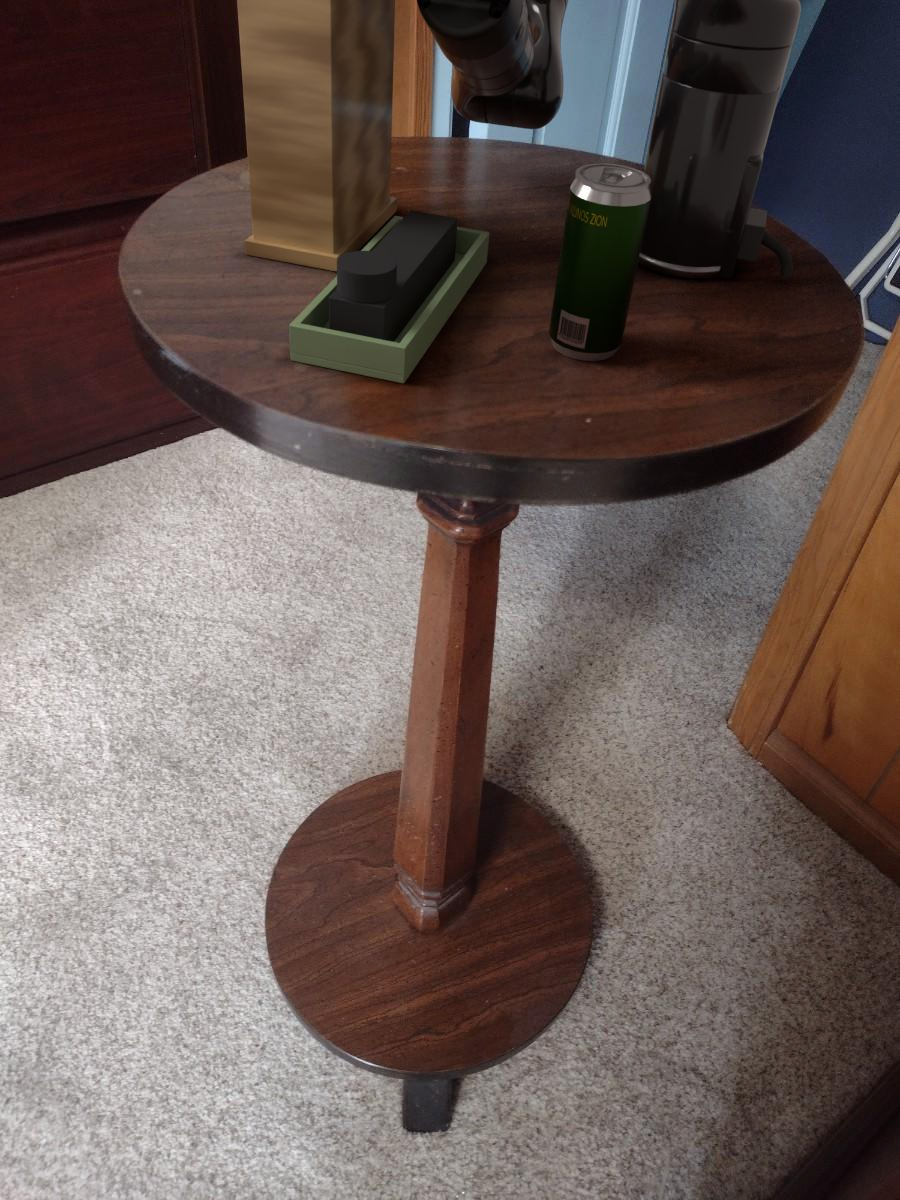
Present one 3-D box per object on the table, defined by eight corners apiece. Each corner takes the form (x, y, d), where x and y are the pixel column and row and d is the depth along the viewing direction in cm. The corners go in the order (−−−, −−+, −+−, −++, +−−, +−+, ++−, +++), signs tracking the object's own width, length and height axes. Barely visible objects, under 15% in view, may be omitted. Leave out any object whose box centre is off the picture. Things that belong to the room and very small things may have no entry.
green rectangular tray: (394, 246, 83) (394, 215, 81) (486, 262, 81) (489, 232, 79) (290, 360, 66) (288, 325, 65) (404, 384, 65) (405, 348, 63)
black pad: (408, 252, 80) (411, 183, 77) (454, 260, 80) (459, 192, 76) (329, 345, 67) (327, 268, 63) (383, 356, 66) (385, 278, 63)
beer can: (608, 370, 68) (642, 196, 60) (537, 351, 70) (561, 179, 62) (628, 339, 72) (663, 172, 64) (560, 322, 74) (586, 157, 66)
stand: (315, 196, 90) (305, -226, 70) (396, 211, 89) (410, -216, 69) (245, 254, 79) (210, -227, 59) (337, 272, 78) (332, -215, 58)
